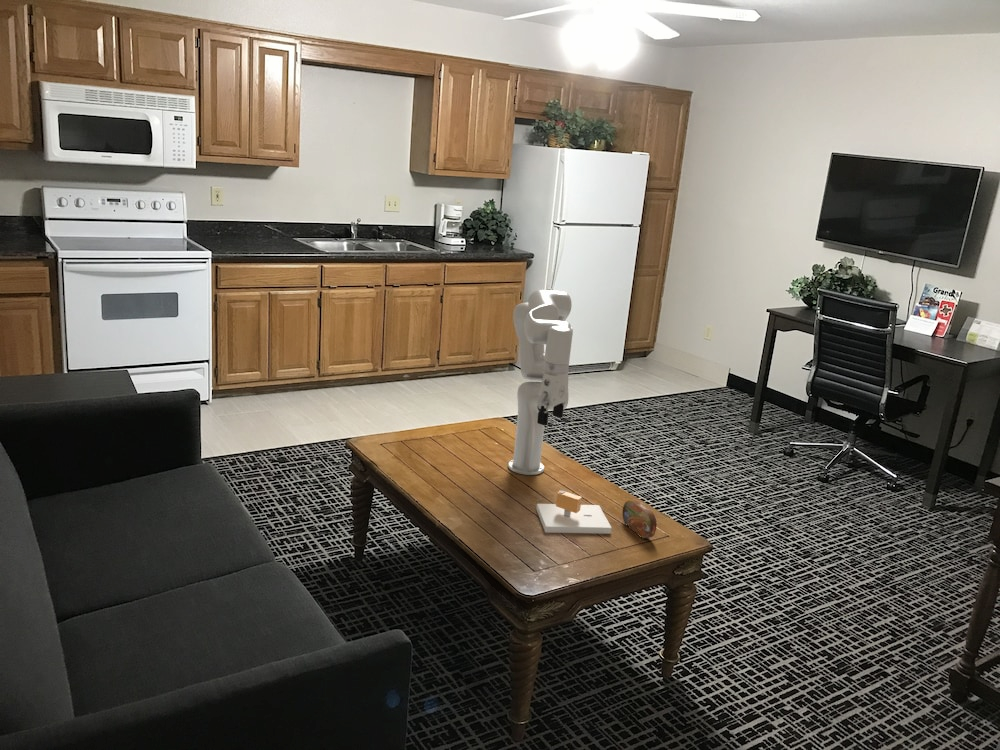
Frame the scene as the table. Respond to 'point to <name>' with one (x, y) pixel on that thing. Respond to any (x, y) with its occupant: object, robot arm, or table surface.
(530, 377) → the robot arm
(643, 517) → the tin
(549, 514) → the base plate
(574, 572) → the table surface
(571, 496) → the orange block on post
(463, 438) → the table surface
